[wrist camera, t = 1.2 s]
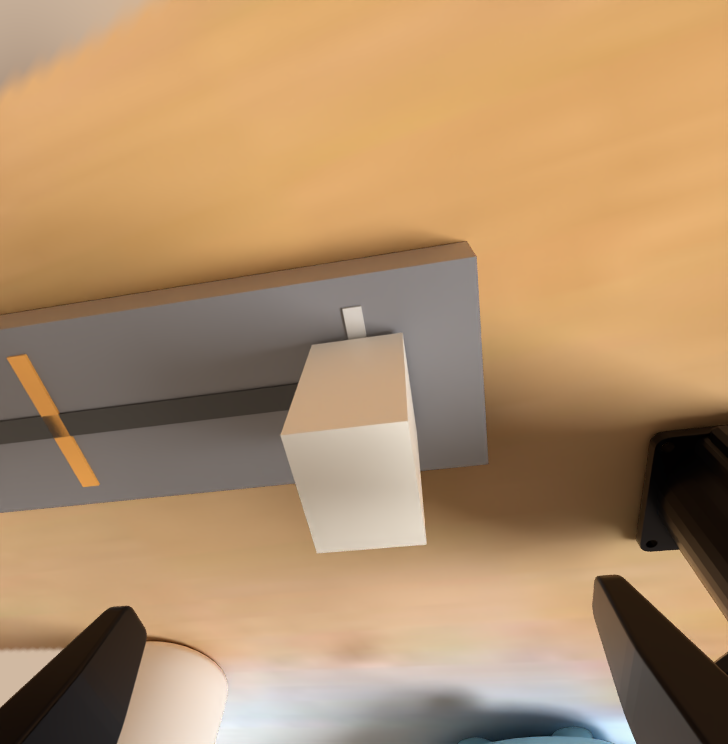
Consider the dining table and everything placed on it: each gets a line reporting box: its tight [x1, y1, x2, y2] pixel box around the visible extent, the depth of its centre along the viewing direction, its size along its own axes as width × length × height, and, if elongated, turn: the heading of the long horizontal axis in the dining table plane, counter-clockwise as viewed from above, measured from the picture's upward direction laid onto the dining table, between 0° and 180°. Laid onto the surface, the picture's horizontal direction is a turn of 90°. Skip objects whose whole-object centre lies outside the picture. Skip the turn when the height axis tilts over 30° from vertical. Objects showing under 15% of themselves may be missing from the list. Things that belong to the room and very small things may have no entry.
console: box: [0, 241, 488, 513], centre depth 18 cm, size 8×24×2 cm, turn 100°
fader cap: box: [280, 332, 427, 553], centre depth 14 cm, size 4×3×5 cm
